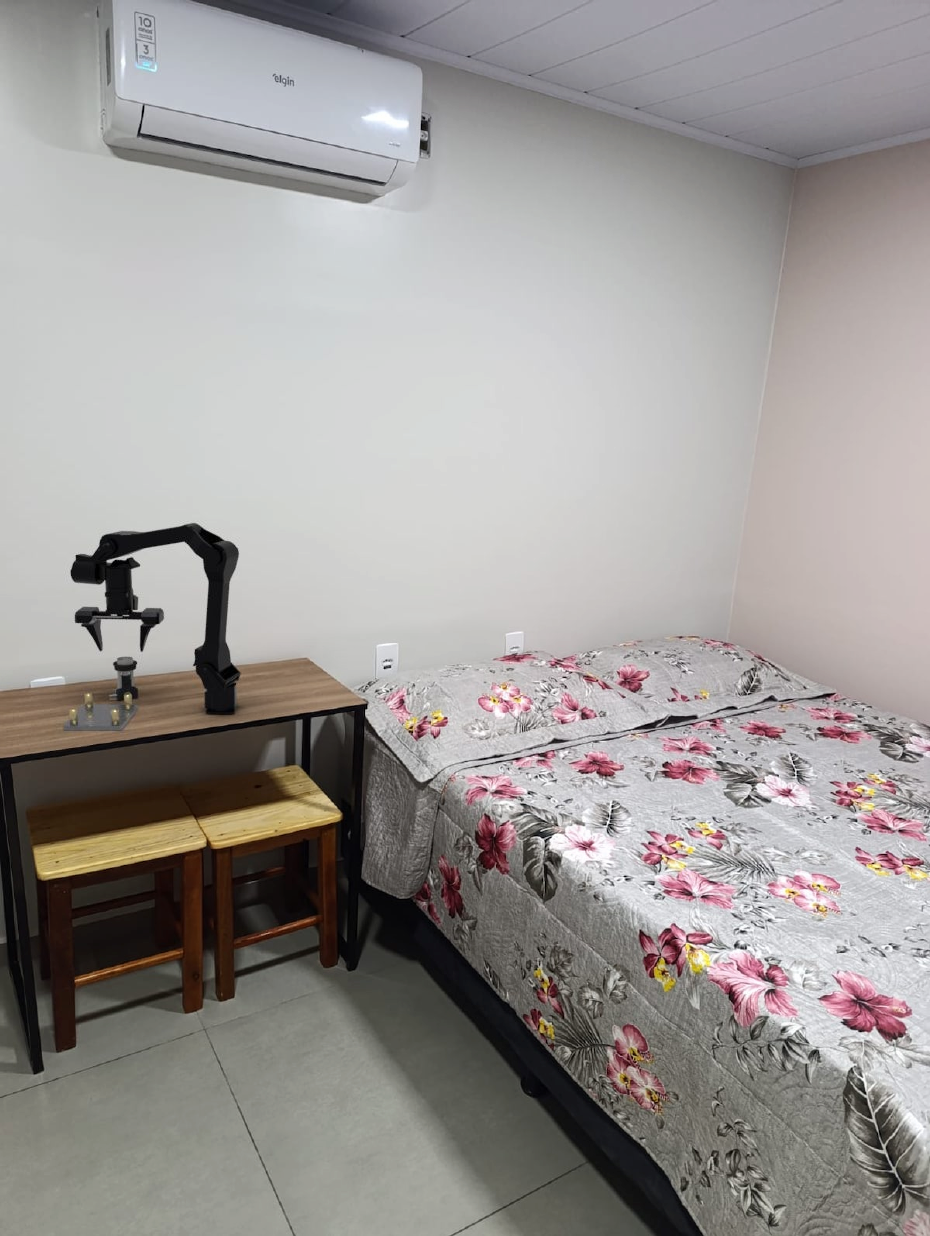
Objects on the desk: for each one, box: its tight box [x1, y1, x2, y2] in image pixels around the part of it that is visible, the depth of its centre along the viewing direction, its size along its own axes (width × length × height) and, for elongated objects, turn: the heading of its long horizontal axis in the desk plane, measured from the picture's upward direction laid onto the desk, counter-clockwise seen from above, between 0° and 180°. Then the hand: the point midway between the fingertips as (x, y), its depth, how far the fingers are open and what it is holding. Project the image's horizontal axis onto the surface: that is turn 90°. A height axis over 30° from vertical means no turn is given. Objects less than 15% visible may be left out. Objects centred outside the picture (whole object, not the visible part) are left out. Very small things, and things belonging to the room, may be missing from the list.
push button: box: [108, 656, 139, 702], centre depth 203 cm, size 7×5×10 cm
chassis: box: [62, 692, 139, 732], centre depth 190 cm, size 12×14×4 cm
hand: (121, 651), depth 201 cm, fingers open, 9 cm apart
